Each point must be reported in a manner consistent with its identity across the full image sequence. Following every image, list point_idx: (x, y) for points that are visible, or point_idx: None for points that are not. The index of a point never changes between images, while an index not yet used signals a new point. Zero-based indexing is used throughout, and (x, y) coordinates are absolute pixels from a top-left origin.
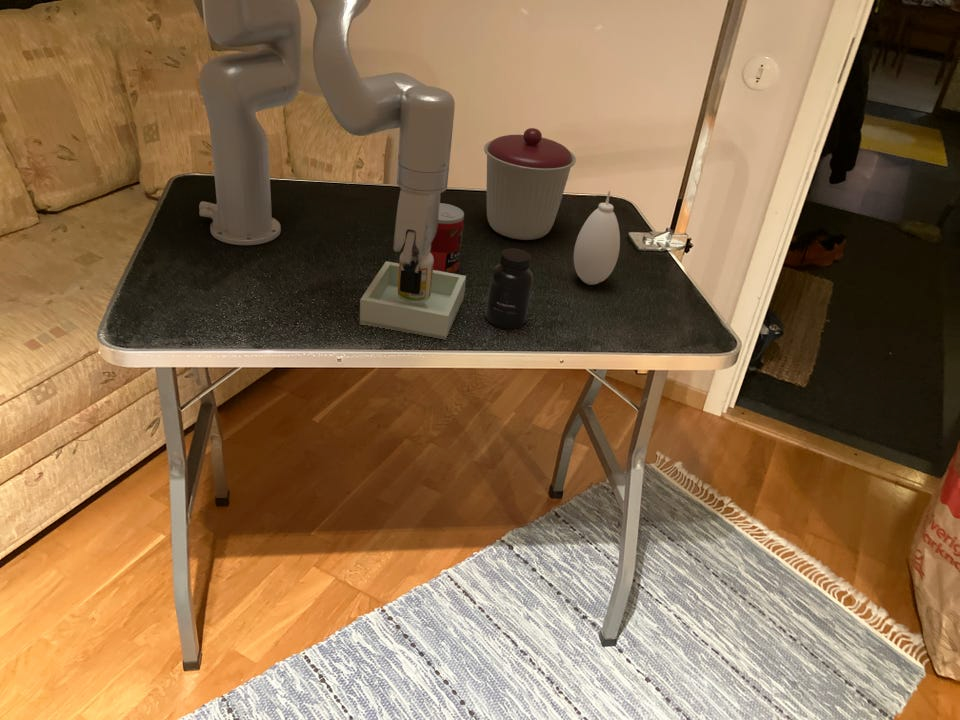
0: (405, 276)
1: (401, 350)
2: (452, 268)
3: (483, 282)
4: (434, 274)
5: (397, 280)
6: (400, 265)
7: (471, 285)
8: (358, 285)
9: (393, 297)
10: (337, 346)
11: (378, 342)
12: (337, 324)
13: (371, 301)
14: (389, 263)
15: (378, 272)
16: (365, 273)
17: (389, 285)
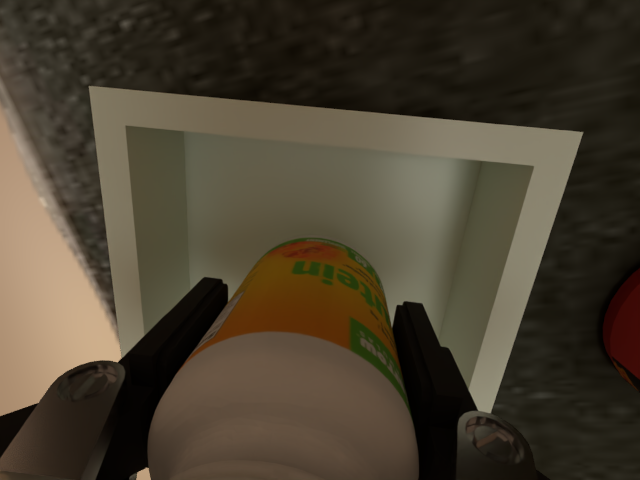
0: (128, 359)
1: (84, 265)
2: (635, 388)
3: (563, 454)
4: (466, 380)
5: (482, 198)
6: (220, 329)
7: (537, 423)
8: (481, 9)
9: (368, 195)
10: (4, 56)
11: (92, 191)
12: (134, 9)
13: (98, 149)
14: (551, 160)
15: (418, 117)
16: (614, 12)
17: (469, 161)
